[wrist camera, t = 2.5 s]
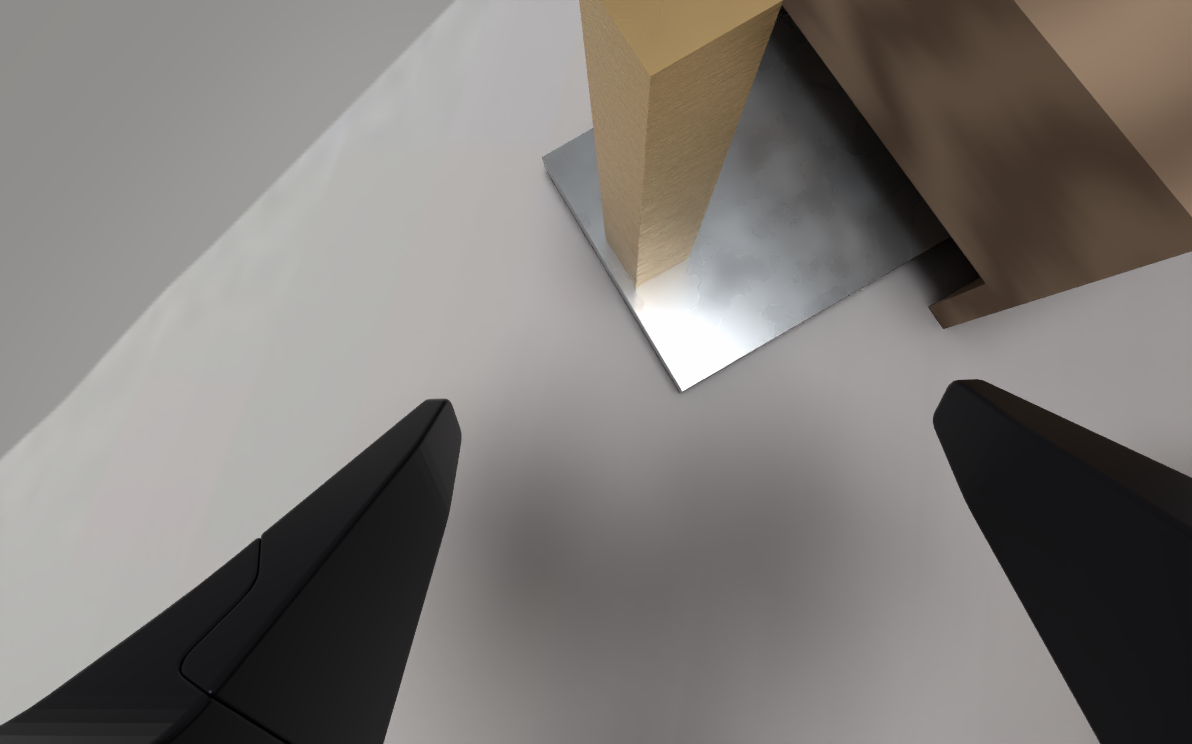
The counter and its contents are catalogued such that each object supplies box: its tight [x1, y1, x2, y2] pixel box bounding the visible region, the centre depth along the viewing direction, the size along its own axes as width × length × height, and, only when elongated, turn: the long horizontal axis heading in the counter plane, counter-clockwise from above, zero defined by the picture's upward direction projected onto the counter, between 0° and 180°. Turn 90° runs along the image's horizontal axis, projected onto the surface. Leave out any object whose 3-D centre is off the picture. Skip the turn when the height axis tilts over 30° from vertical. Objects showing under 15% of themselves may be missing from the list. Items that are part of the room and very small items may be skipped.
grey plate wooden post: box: [542, 0, 951, 392], centre depth 16 cm, size 26×13×14 cm, turn 120°
